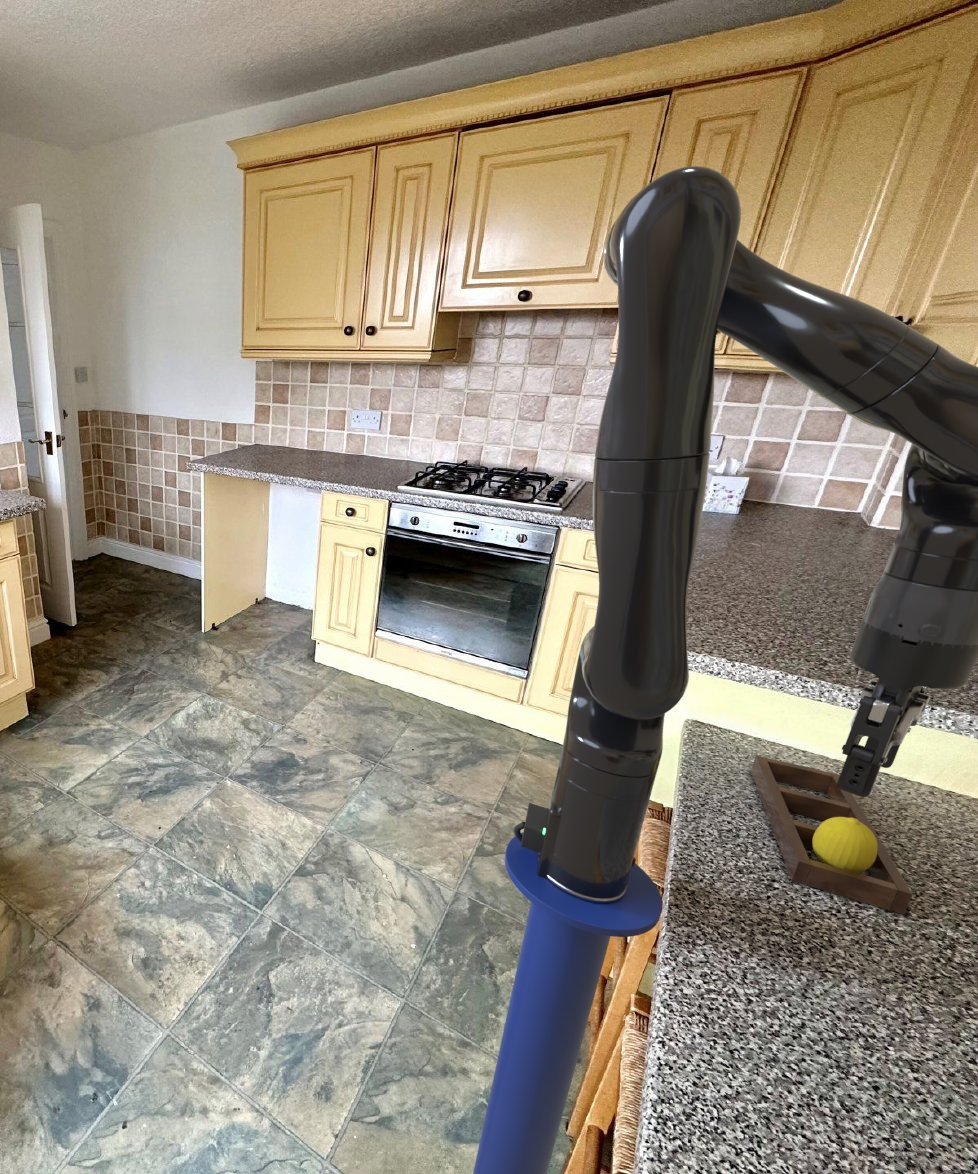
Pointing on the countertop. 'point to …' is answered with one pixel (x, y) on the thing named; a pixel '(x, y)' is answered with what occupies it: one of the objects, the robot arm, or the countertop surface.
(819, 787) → the rack
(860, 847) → the lemon
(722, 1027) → the countertop surface
